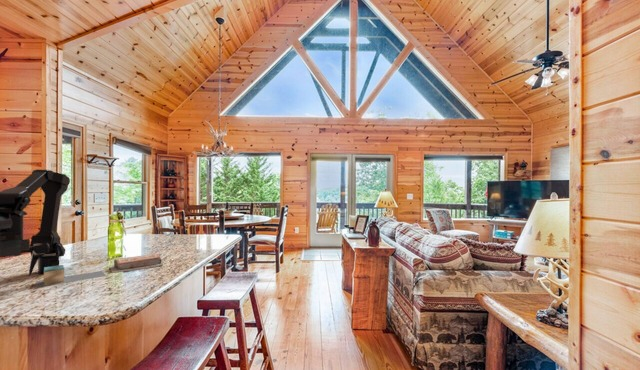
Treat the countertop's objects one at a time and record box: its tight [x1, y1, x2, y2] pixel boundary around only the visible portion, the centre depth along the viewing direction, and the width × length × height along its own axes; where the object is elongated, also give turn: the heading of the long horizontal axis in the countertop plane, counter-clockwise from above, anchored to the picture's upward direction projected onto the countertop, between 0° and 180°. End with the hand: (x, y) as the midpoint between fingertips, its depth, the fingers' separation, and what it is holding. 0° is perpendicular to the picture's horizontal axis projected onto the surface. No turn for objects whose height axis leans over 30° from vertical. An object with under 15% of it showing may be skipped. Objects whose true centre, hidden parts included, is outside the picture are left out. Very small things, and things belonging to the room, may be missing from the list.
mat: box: [35, 270, 107, 289], centre depth 108 cm, size 19×9×1 cm, turn 136°
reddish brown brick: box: [109, 253, 163, 274], centre depth 125 cm, size 18×5×10 cm
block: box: [43, 264, 65, 285], centre depth 104 cm, size 5×5×5 cm
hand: (10, 277), depth 96 cm, fingers open, 9 cm apart
